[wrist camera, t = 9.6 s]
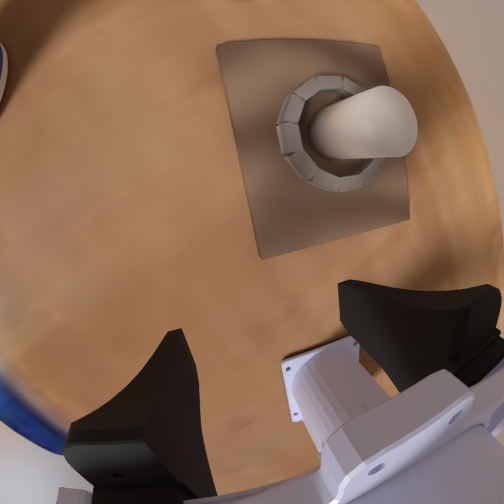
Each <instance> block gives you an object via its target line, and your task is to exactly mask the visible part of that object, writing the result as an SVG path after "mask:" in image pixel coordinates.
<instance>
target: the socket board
mask: <svg viewBox="0 0 504 504" xmlns="http://www.w3.org/2000/svg"><path fill="white" fill-rule="evenodd" d="M216 53H217V58H218V63H219V67H220V72H221V77H222V81H223V86H224V91H225V95H226V100H227V105H228V109H229V114H230V119H231V123H232V128H233V133H234V138H235V142H236V147H237V152H238V157H239V162H240V166H241V171H242V176H243V181H244V186H245V190H246V195H247V200H248V205H249V210H250V215H251V219H252V224H253V229H254V234H255V239H256V244H257V249H258V254H259V257H260V258H261V259H262V260H264V259H267V258H271V257H275V256H279V255H282V254H286V253H290V252H293V251H297V250H301V249H304V248H308V247H312V246H315V245H319V244H323V243H326V242H330V241H334V240H337V239H341V238H345V237H348V236H352V235H355V234H359V233H363V232H366V231H370V230H373V229H377V228H381V227H384V226H388V225H391V224H395V223H398V222H402V221H405V220H409V219H410V212H409V198H408V187H407V177H406V169H405V161H404V156H402V157H385V158H360V159H342V160H330V159H326V158H324V157H322V156H321V155H319V154H318V153H317V152H316V151H315V150H314V149H313V147H312V146H311V144H310V141H309V138H308V131H307V130H308V123H309V121H310V119H311V117H312V116H313V114H314V113H316V112H317V111H319V110H321V109H323V108H325V107H328V106H330V105H332V104H335V103H337V102H339V101H342V100H344V99H347V98H349V97H351V96H354V95H356V94H359V93H362V92H364V91H367V90H369V89H372V88H375V87H377V86H389V87H390V85H389V81H388V77H387V73H386V70H385V66H384V63H383V60H382V57H381V53H380V50H379V47H378V46H372V45H365V44H358V43H349V42H339V41H326V40H304V39H277V40H254V41H241V42H231V43H222V44H217V47H216Z"/></svg>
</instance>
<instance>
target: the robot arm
mask: <svg viewBox="0 0 504 504" xmlns="http://www.w3.org/2000/svg"><path fill="white" fill-rule="evenodd" d="M338 293H339V308H340V321H341V322H342V324H343V325H344V327H345V328H346V330H347V331H348V332H349V334H350V336H347V337H345V338H342V339H340V340H337V341H335V342H332V343H330V344H327V345H324V346H322V347H319V348H316V349H313V350H311V351H308V352H305V353H302V354H299V355H296V356H293V357H291V358H288V359H285V360H283V361H282V363H281V366H282V371H283V377H284V382H285V387H286V392H287V397H288V402H289V408H290V413H291V418H292V420H293V421H294V422H297V421H300V420H303V422H304V424H305V426H306V428H307V430H308V432H309V434H310V436H311V438H312V440H313V442H314V444H315V446H316V448H317V449H318V451H319V454H318V457H319V459H320V461H321V464H320V465H318V466H317V467H315V468H313V469H311V470H309V471H307V472H305V473H303V474H301V475H298V476H295V477H292V478H289V479H286V480H283V481H280V482H276V483H273V484H269V485H265V486H262V487H258V488H254V489H249V490H245V491H240V492H236V493H231V494H225V495H220V496H218V495H217V492H216V489H215V486H214V482H213V478H212V475H211V471H210V467H209V463H208V459H207V454H206V450H205V445H204V440H203V435H202V429H201V417H200V395H199V381H198V375H197V369H196V364H195V362H194V359H193V357H192V354H191V352H190V349H189V346H188V344H187V341H186V339H185V336H184V333H183V331H182V328H180V329H176V330H172V331H168V332H167V334H166V335H165V337H164V338H163V340H162V342H161V343H160V345H159V346H158V348H157V349H156V351H155V352H154V354H153V355H152V357H151V358H150V359H149V361H148V362H147V363H146V365H145V366H144V367H143V369H142V370H141V371H140V372H139V374H138V375H137V376H136V377H135V378H134V379H133V380H132V381H131V382H130V383H129V384H128V385H127V386H126V387H125V388H124V389H123V390H122V391H120V392H119V393H118V394H117V395H116V396H115V397H113V398H112V399H111V400H110V401H108V402H107V403H105V404H104V405H103V406H101V407H100V408H98V409H96V410H95V411H93V412H92V413H90V414H88V415H86V416H84V417H82V418H80V419H78V420H77V421H74V422H72V423H71V426H70V429H69V432H68V435H67V438H66V442H65V445H64V449H63V455H64V457H65V459H66V460H67V462H68V463H69V464H70V465H71V467H72V468H73V469H74V470H76V471H77V472H78V473H79V474H80V475H81V476H82V477H83V478H85V479H86V480H87V481H88V482H89V483H91V484H92V485H93V486H94V488H93V494H92V493H91V492H88V491H85V490H79V489H70V488H63V487H61V488H59V491H58V497H57V502H56V504H504V446H503V445H502V444H501V443H500V442H499V441H498V440H497V439H496V438H495V436H496V435H497V434H498V433H499V432H500V430H501V429H502V428H503V427H504V339H503V338H501V337H500V336H499V335H500V334H501V331H500V330H499V329H497V328H496V325H497V321H498V317H499V313H500V308H501V301H502V297H501V293H500V290H499V289H498V288H496V287H494V286H491V285H489V284H485V285H480V286H476V287H472V288H467V289H460V290H451V291H415V290H405V289H399V288H393V287H387V286H382V285H377V284H373V283H368V282H363V281H358V280H346V281H343V282H340V283H338ZM354 342H355V343H354ZM353 343H354V344H353ZM359 345H360V346H361V347H362V348H363V349H364V350H365V351H366V352H367V353H368V354H369V355H370V356H371V357H372V358H373V359H374V360H375V361H376V362H377V363H378V364H379V365H380V366H381V367H382V369H383V370H384V371H385V372H386V374H387V375H388V377H389V378H390V379H391V381H392V382H393V383H394V385H395V386H396V388H397V389H398V391H399V392H400V393H399V394H397V395H396V396H394V397H392V398H391V397H390V396H389V395H388V394H387V393H386V391H385V390H384V389H383V388H382V387H381V386H380V385H379V384H378V383H377V381H376V380H375V379H374V378H373V377H372V376H371V375H370V374H369V373H368V372H367V370H366V369H365V368H364V367H363V366H362V365H361V364H360V363H359ZM287 367H289V368H288V369H286V368H287Z"/></svg>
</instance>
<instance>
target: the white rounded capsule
mask: <svg viewBox="0 0 504 504" xmlns="http://www.w3.org/2000/svg"><path fill="white" fill-rule="evenodd" d="M307 131H308V138H309V141H310V144H311V146H312V147H313V149H314V150H315V151H316V152H317V153H318V154H319V155H321V156H322V157H324V158H326V159H330V160H342V159H360V158H385V157H402V156H405V155H407V154H408V153H409V152H410V151H411V150H412V149H413V147H414V145H415V143H416V140H417V134H418V125H417V119H416V116H415V113H414V110H413V108H412V106H411V104H410V103H409V101H408V100H407V99H406V98H405V96H404V95H403V94H402V93H400V92H399V91H398V90H396V89H394V88H392V87H389V86H377V87H375V88H372V89H369V90H367V91H364V92H362V93H359V94H356V95H354V96H351V97H349V98H347V99H344V100H342V101H339V102H337V103H335V104H332V105H330V106H328V107H325V108H323V109H321V110H319V111H317V112H316V113H314V114H313V116H312V117H311V119H310V121H309V123H308V130H307Z"/></svg>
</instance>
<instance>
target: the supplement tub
mask: <svg viewBox="0 0 504 504" xmlns="http://www.w3.org/2000/svg"><path fill="white" fill-rule="evenodd" d="M7 72H8V60H7V54H6V51H5V49H4V47H3V45H2V44H1V43H0V102H1V99H2V96H3V92H4V88H5V84H6V79H7Z"/></svg>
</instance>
